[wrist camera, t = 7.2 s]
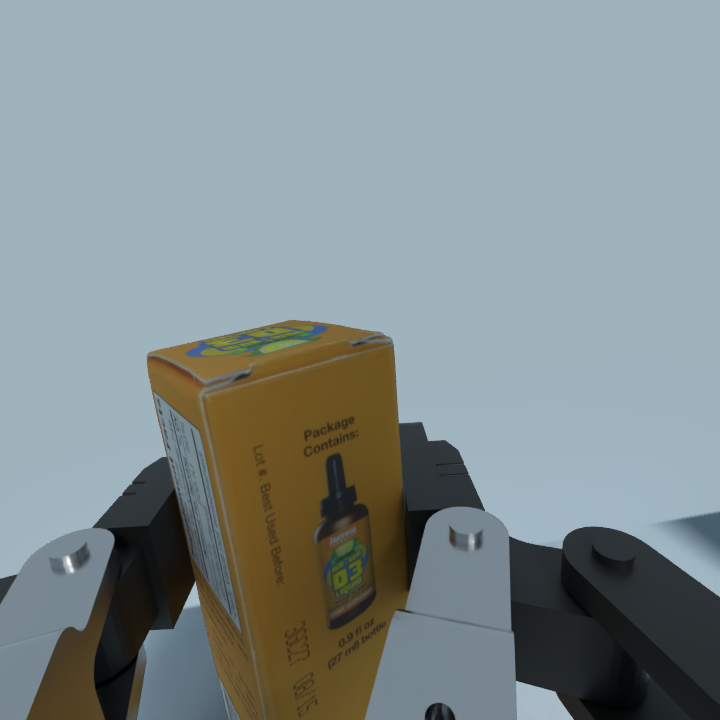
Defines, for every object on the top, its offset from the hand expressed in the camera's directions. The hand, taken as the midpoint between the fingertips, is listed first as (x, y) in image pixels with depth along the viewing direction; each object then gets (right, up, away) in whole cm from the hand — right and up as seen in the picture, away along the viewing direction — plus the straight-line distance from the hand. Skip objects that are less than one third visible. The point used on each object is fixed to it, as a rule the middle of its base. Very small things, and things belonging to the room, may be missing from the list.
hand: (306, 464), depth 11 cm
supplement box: (0, -7, -1) cm, 7 cm away
